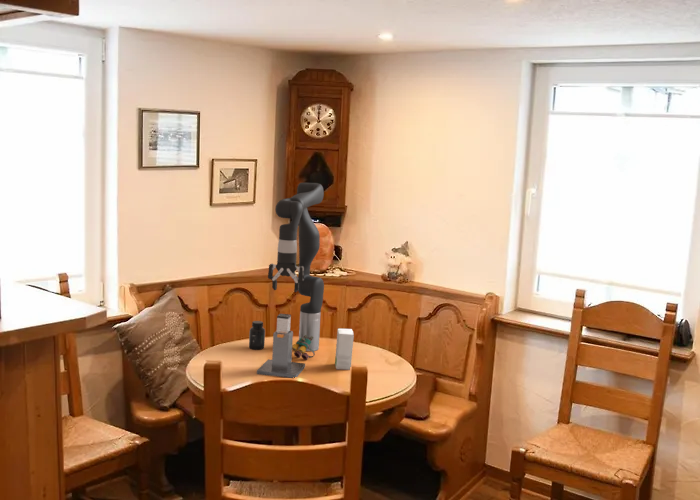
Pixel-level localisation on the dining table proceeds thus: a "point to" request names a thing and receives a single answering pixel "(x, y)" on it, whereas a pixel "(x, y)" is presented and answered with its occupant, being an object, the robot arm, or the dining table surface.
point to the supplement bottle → (257, 336)
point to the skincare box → (344, 349)
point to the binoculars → (302, 347)
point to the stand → (281, 358)
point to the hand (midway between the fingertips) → (285, 290)
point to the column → (283, 323)
